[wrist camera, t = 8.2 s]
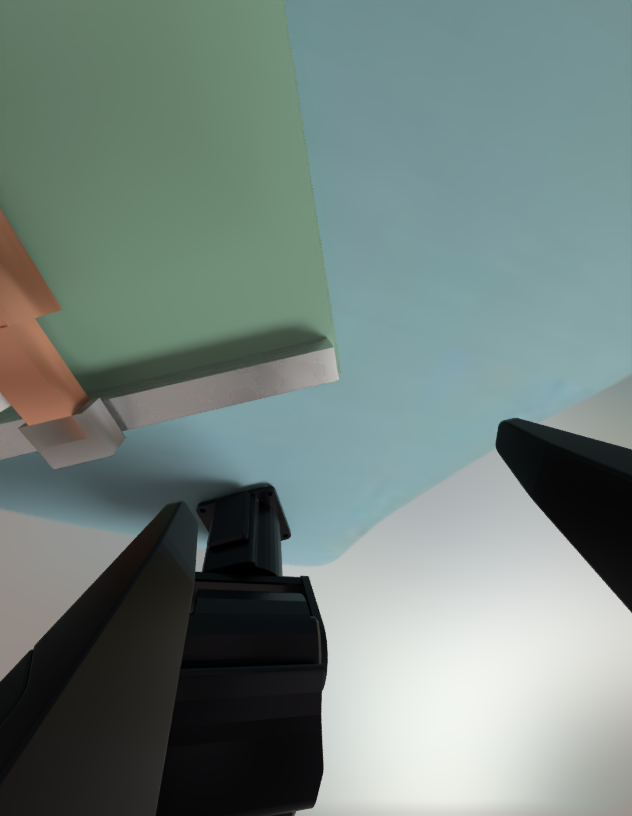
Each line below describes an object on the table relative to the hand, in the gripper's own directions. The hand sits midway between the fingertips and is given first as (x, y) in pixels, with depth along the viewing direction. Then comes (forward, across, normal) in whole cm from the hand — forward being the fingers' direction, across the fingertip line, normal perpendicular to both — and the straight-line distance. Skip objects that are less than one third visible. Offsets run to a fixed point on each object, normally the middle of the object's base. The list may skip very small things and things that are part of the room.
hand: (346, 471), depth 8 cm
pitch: (+12, +9, -7) cm, 16 cm away
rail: (+11, +9, 0) cm, 14 cm away
